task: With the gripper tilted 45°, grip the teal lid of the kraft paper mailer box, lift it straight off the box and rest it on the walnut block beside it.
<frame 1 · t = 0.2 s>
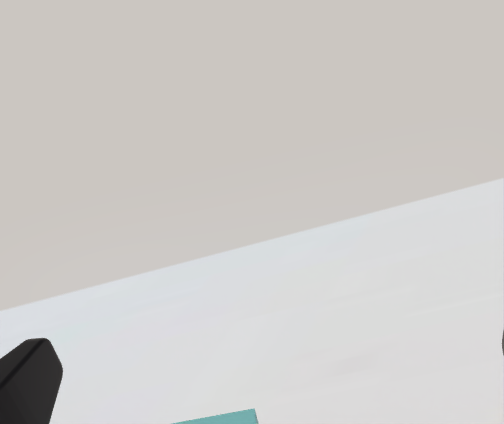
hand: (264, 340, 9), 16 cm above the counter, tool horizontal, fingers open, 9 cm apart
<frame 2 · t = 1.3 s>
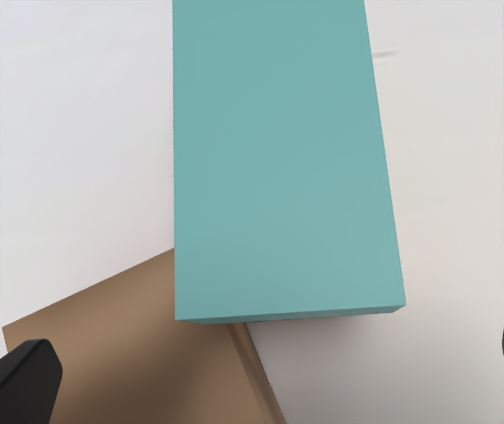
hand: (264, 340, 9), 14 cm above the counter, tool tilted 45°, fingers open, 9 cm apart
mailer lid: (283, 153, 19), point 6 cm above the counter, touching mailer box
walnut block: (171, 390, 23), on the counter
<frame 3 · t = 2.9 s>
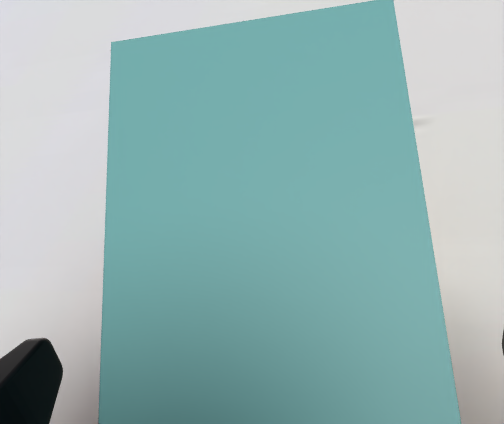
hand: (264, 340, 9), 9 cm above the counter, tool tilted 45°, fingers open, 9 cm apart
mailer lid: (281, 308, 13), point 6 cm above the counter, touching mailer box
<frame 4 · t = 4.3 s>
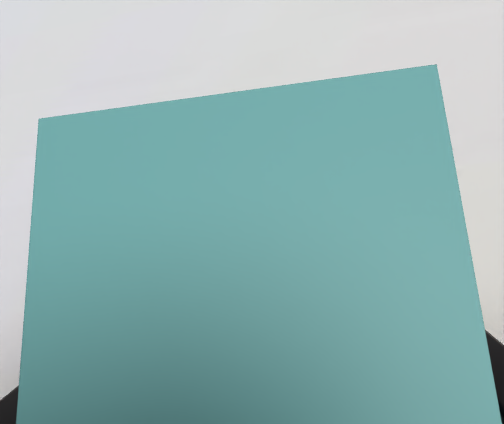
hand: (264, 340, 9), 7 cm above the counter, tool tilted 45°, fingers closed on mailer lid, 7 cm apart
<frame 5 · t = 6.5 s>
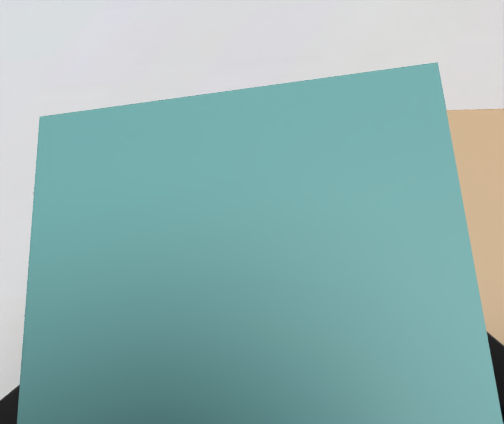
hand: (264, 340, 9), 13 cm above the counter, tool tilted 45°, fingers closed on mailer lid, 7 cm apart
mailer box: (389, 322, 21), on the counter
when the fingers open (7 cm above the counter, at t = 8.8 s): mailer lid drops 1 cm, resting on walnut block.
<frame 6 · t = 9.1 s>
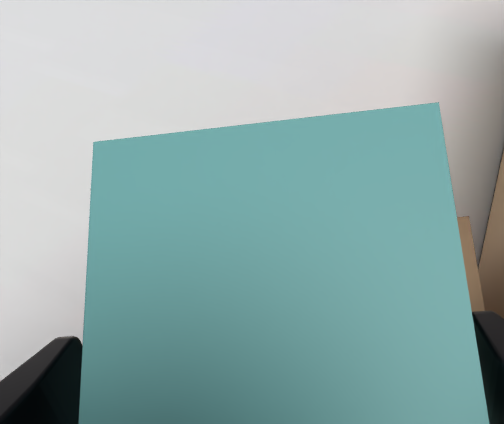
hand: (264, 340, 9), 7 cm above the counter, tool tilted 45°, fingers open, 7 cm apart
walnut block: (306, 417, 15), on the counter
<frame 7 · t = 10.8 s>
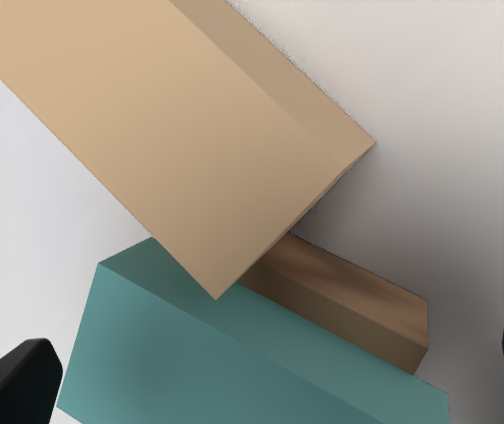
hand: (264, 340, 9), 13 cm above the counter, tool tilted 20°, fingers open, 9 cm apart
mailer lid: (257, 375, 19), point 4 cm above the counter, touching walnut block
walnut block: (287, 328, 23), on the counter
mailer box: (242, 99, 22), on the counter
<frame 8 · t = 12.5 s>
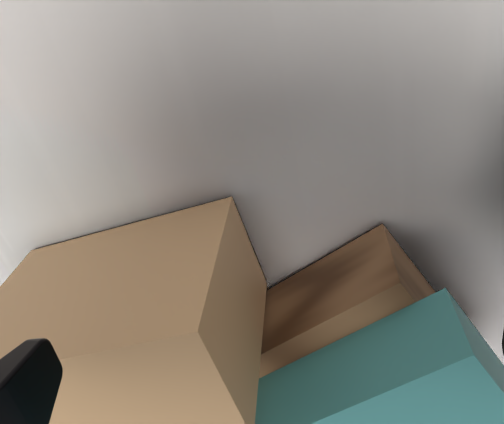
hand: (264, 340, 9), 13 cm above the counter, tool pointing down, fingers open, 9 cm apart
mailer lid: (354, 394, 22), point 4 cm above the counter, touching walnut block
walnut block: (346, 326, 26), on the counter
mailer box: (148, 267, 25), on the counter
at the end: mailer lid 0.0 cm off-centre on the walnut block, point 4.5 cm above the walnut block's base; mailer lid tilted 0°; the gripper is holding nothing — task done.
